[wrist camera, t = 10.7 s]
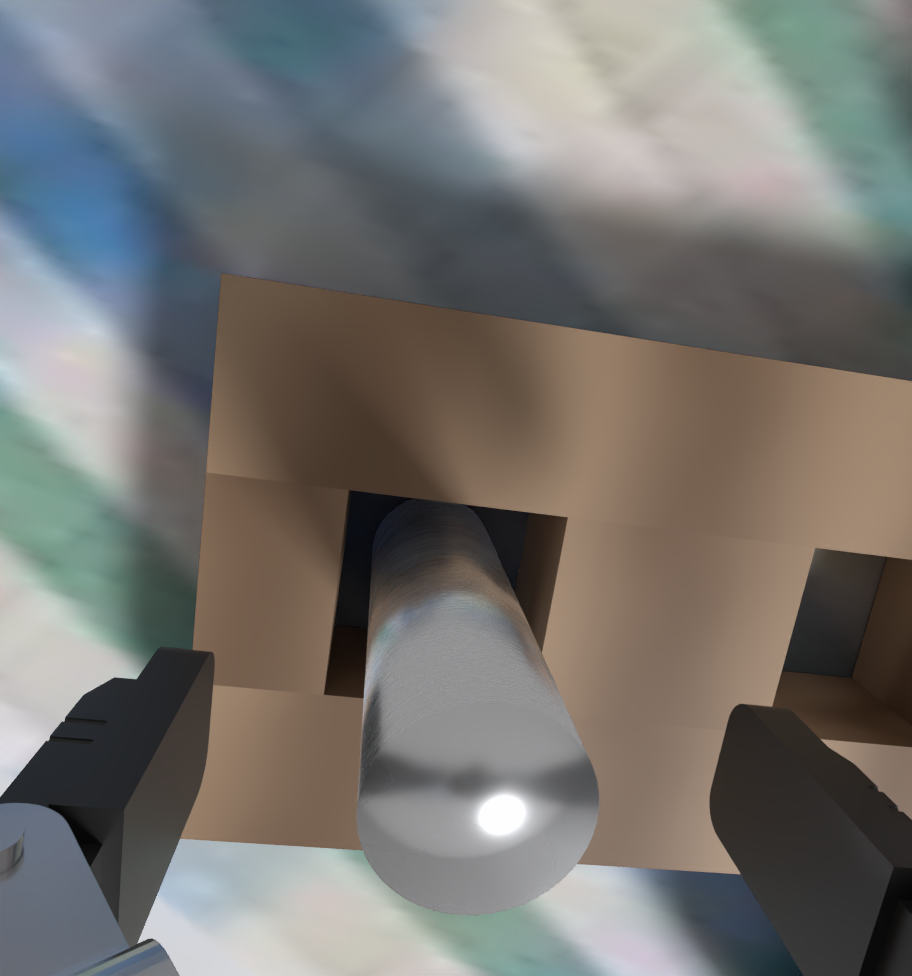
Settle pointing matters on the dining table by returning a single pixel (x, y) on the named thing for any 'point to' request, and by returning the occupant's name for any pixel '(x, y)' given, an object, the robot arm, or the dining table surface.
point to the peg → (463, 726)
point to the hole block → (543, 548)
